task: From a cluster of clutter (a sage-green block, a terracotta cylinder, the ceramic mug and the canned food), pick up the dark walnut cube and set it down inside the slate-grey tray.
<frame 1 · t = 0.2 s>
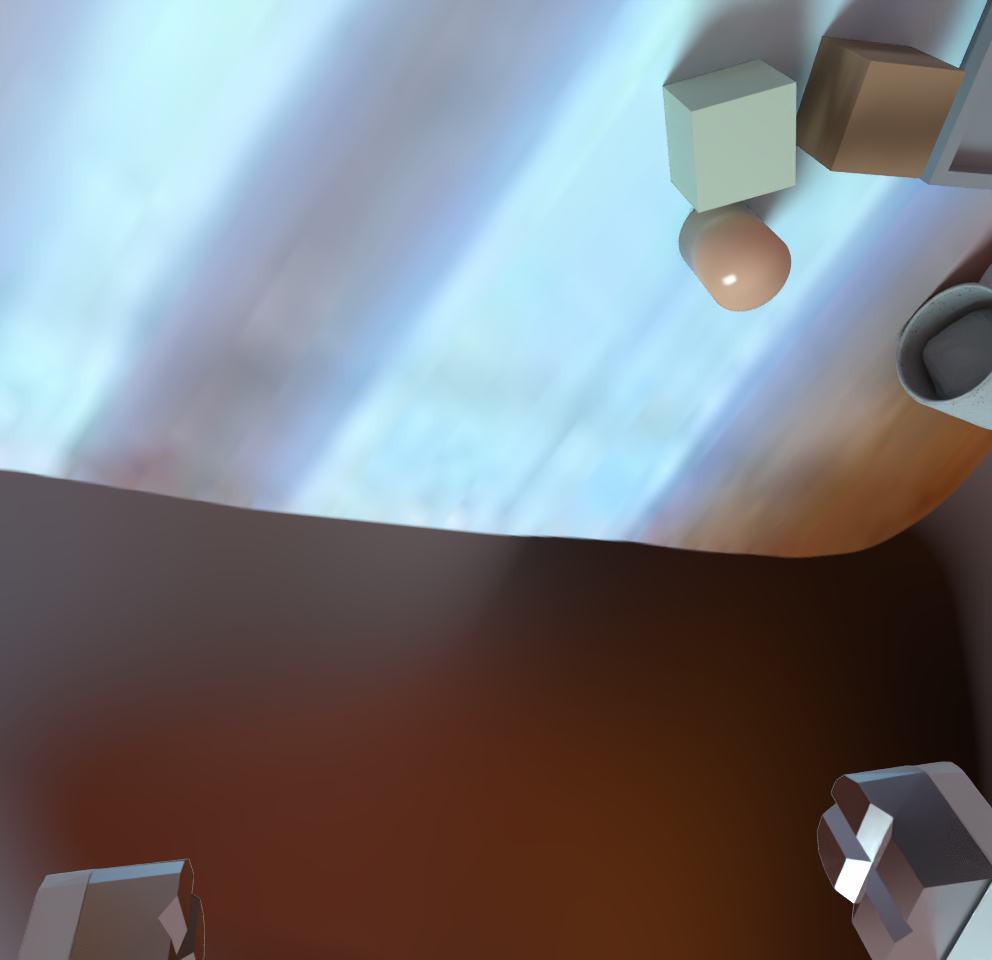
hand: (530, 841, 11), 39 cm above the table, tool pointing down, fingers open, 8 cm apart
ceramic mug: (965, 313, 55), on the table
terracotta cylinder: (716, 234, 49), on the table
green block: (712, 121, 45), on the table
walnut block: (847, 93, 45), on the table
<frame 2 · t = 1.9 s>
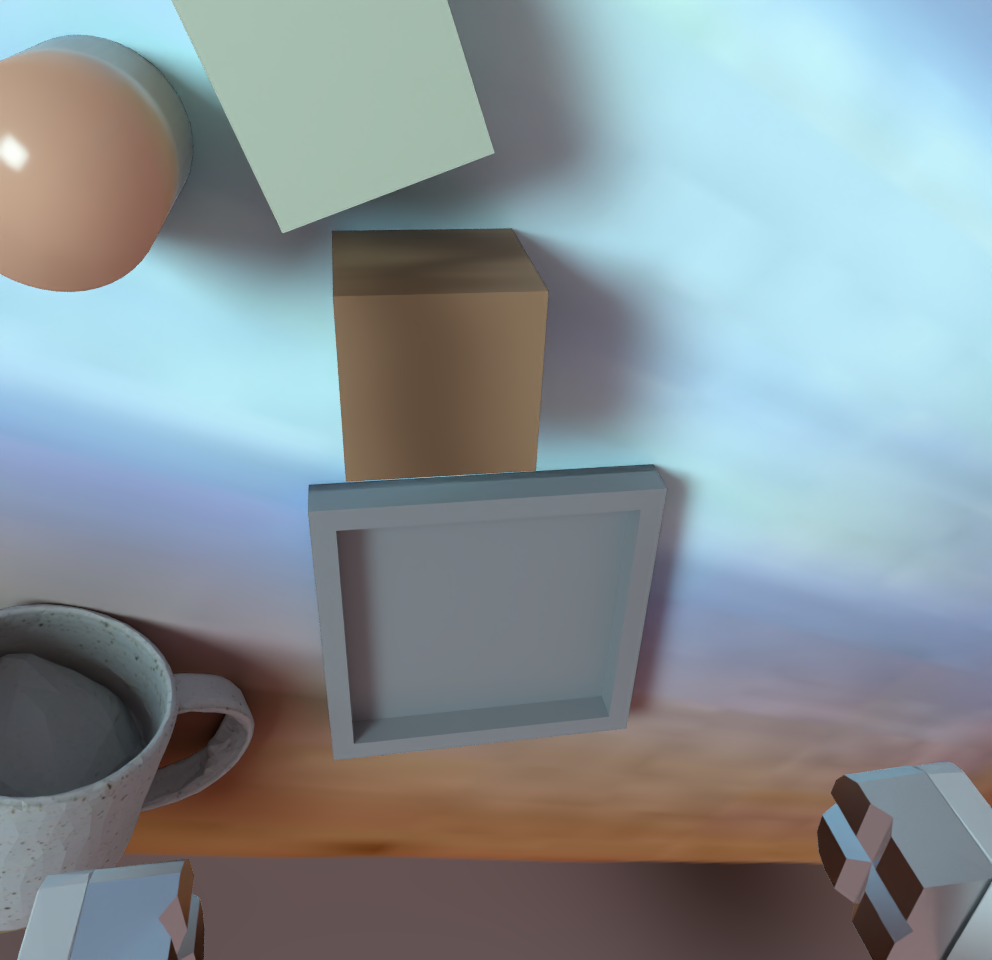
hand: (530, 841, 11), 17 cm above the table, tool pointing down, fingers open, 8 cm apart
tray: (481, 606, 32), on the table
ceramic mug: (101, 682, 31), on the table
terracotta cylinder: (99, 134, 21), on the table
green block: (339, 48, 21), on the table
walnut block: (424, 313, 25), on the table
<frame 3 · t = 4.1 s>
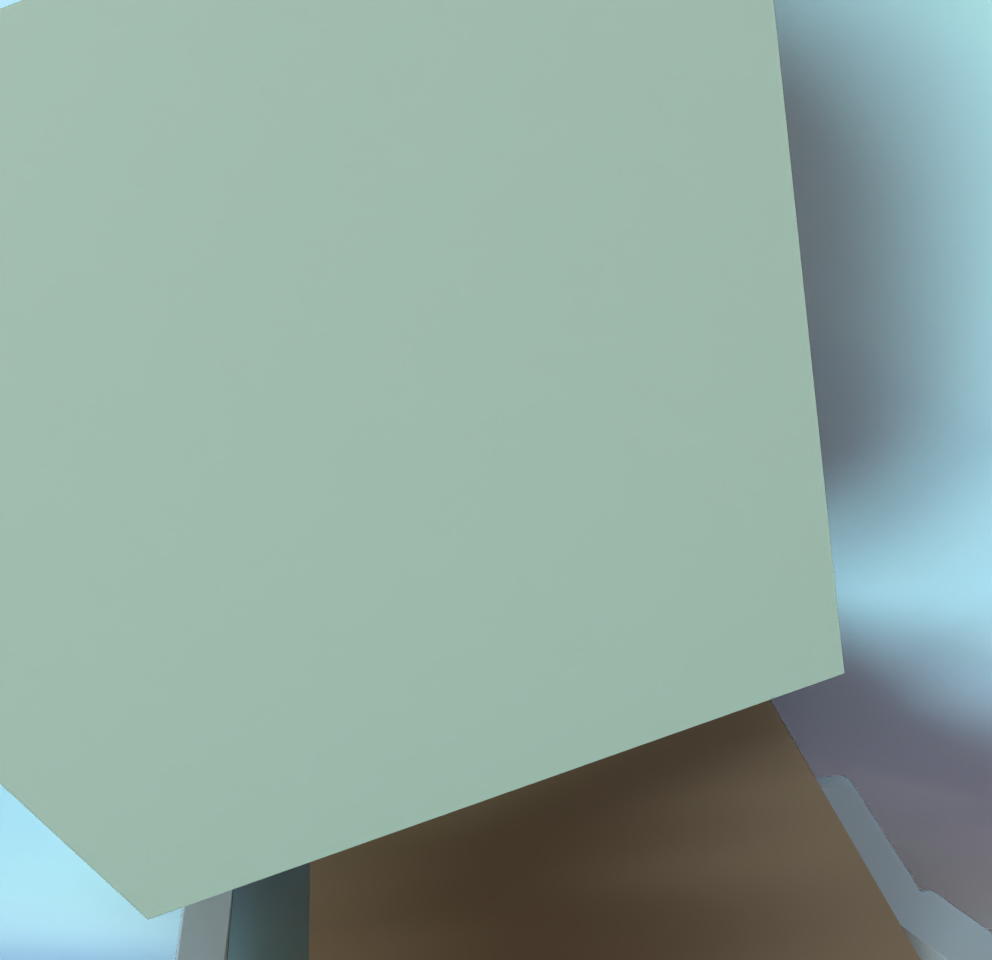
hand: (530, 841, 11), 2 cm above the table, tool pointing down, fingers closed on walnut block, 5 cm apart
green block: (332, 246, 8), on the table
walnut block: (507, 738, 12), on the table, touching gripper
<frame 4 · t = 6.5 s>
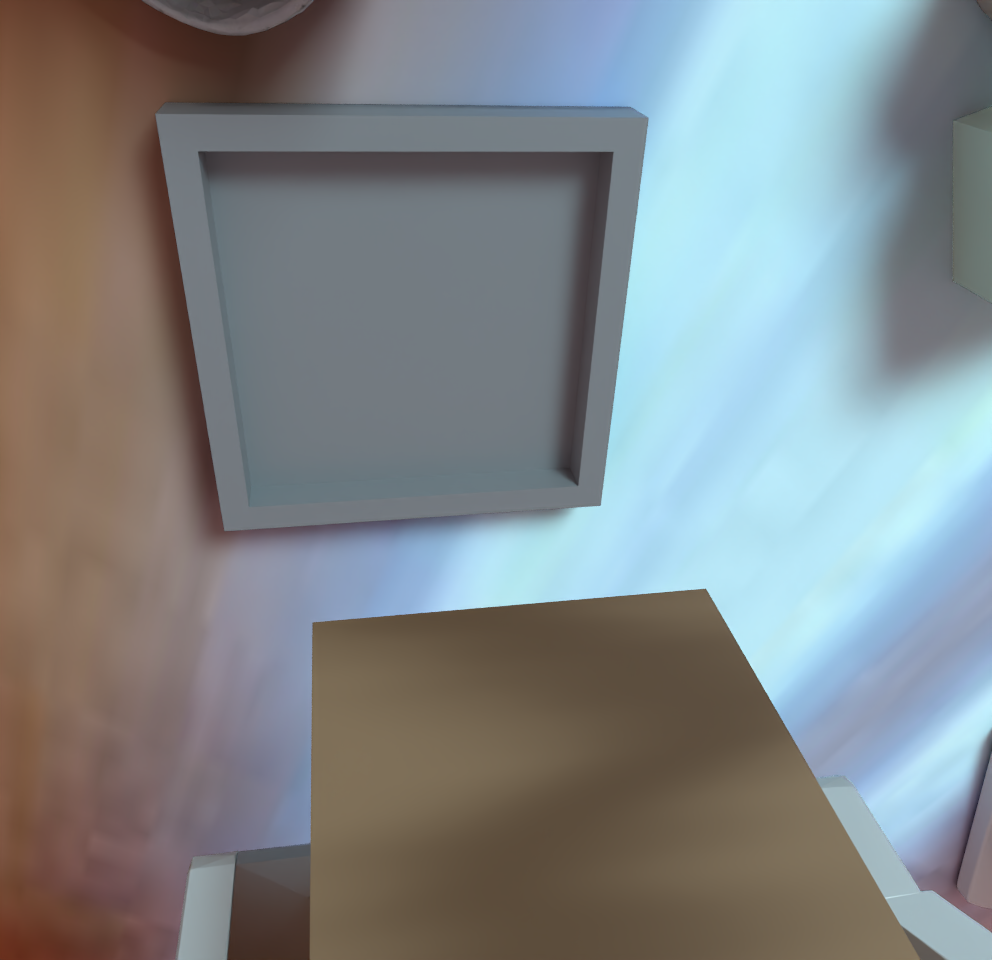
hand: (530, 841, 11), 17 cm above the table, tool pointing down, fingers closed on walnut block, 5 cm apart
tray: (411, 322, 25), on the table
walnut block: (507, 740, 12), point 15 cm above the table, touching gripper
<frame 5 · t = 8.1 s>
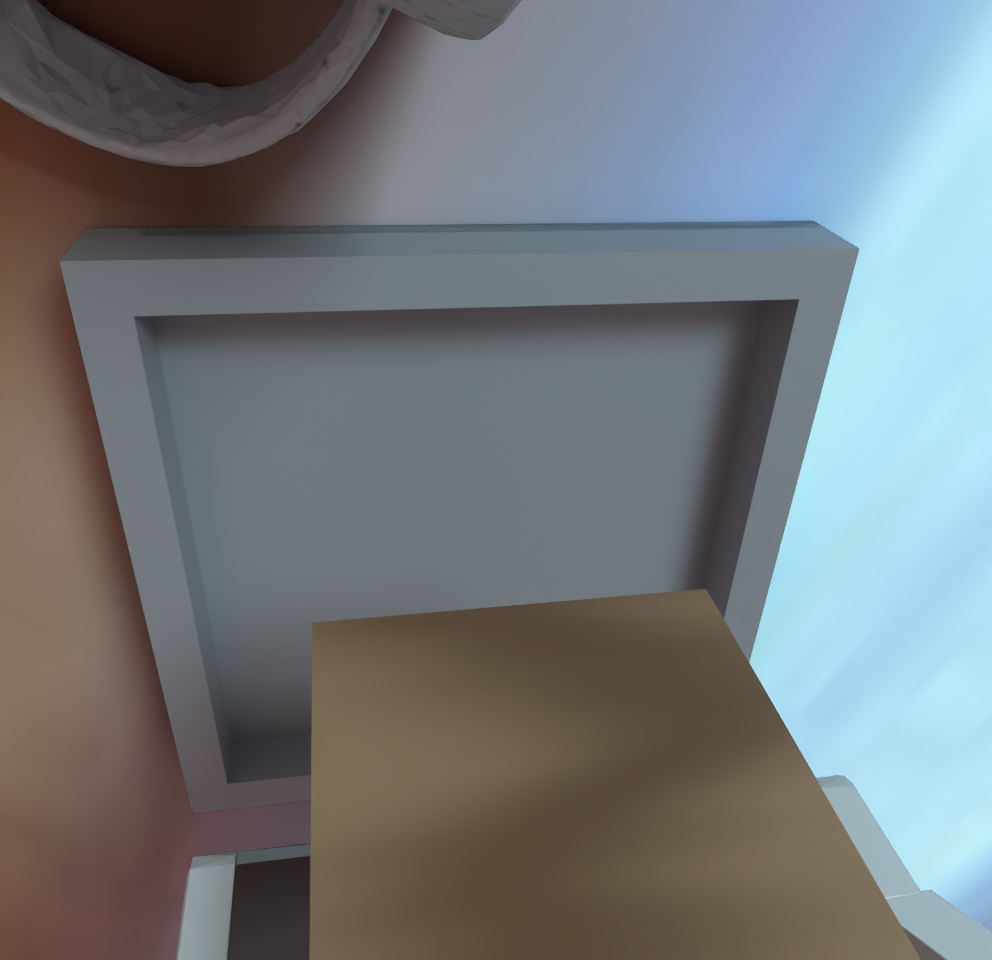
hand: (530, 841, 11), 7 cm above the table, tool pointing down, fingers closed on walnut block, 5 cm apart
tray: (467, 523, 17), on the table
walnut block: (507, 740, 12), point 5 cm above the table, touching gripper
when the fingers open (4 cm above the table, at t = 9.3 s): walnut block drops 2 cm, resting on tray.
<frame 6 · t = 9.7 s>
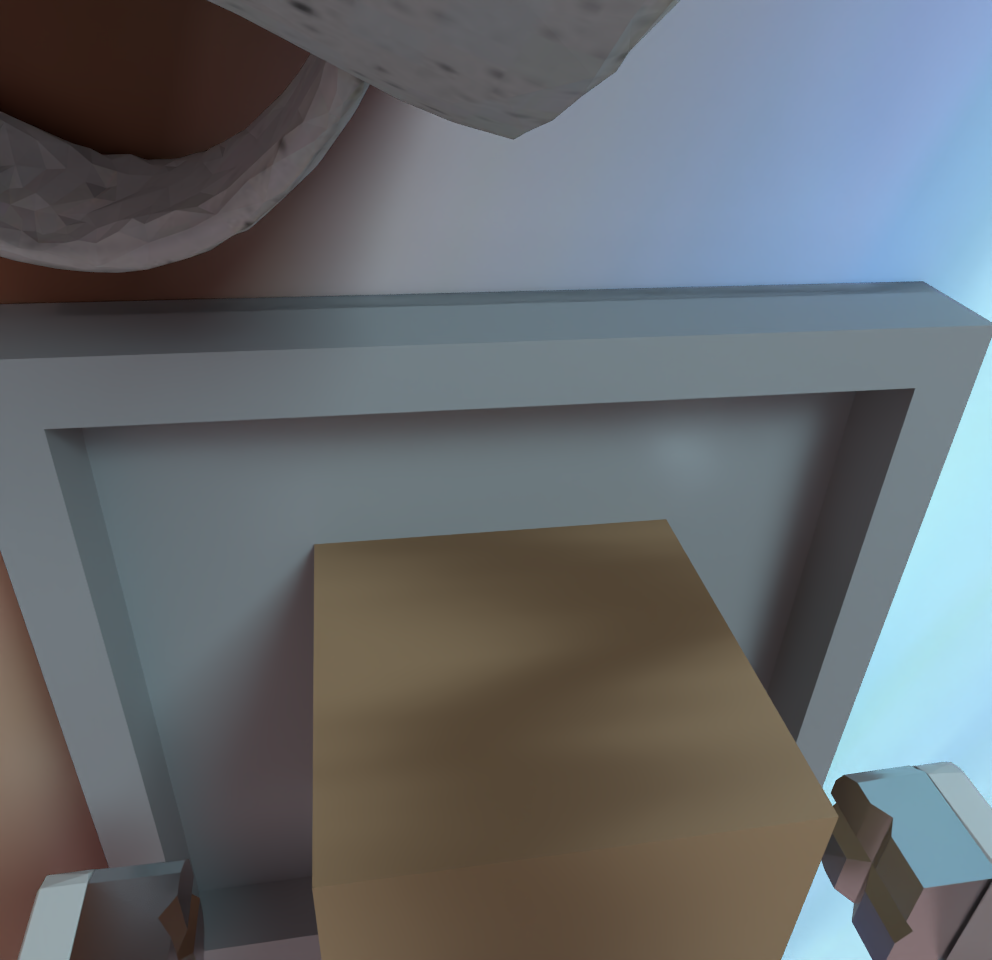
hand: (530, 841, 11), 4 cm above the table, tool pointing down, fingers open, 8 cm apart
tray: (482, 641, 14), on the table
walnut block: (489, 661, 13), resting on tray
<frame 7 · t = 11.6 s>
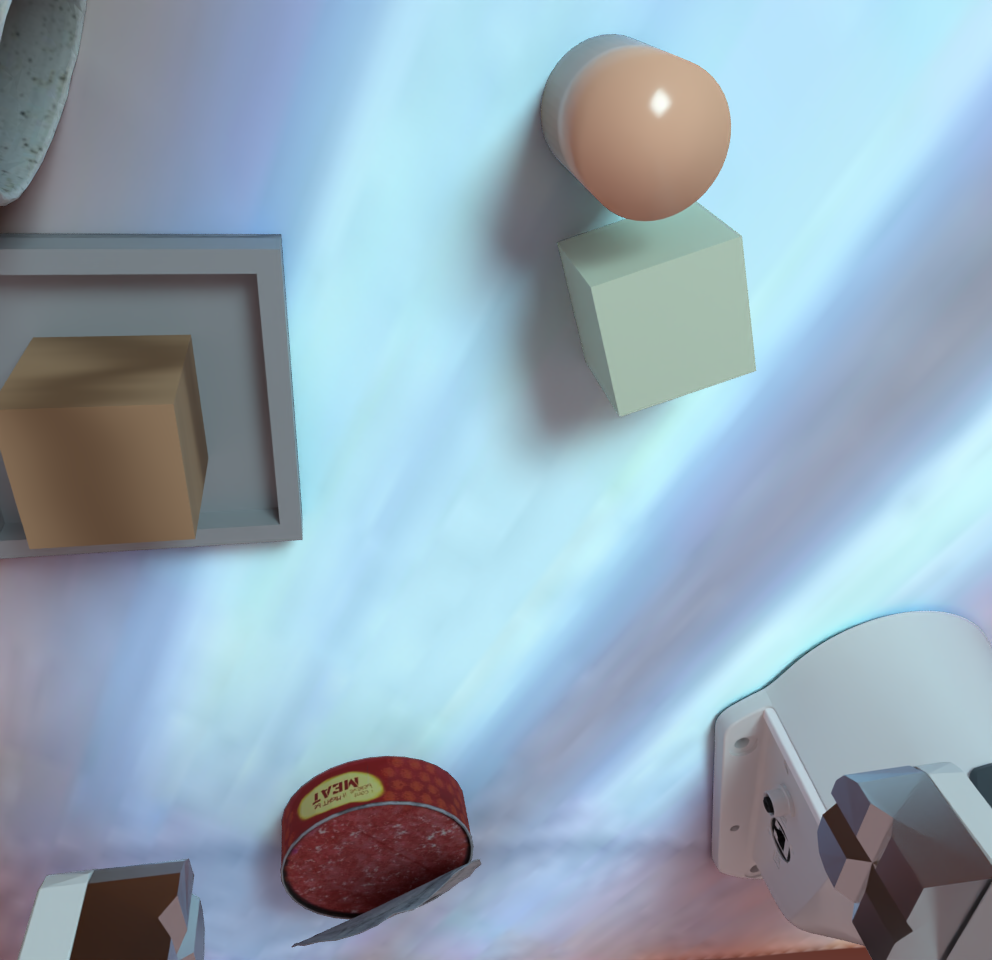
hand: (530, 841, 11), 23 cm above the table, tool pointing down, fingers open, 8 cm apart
tray: (125, 395, 31), on the table
terracotta cylinder: (605, 108, 28), on the table
green block: (634, 282, 32), on the table
walnut block: (126, 401, 30), resting on tray
canned food: (375, 811, 47), on the table
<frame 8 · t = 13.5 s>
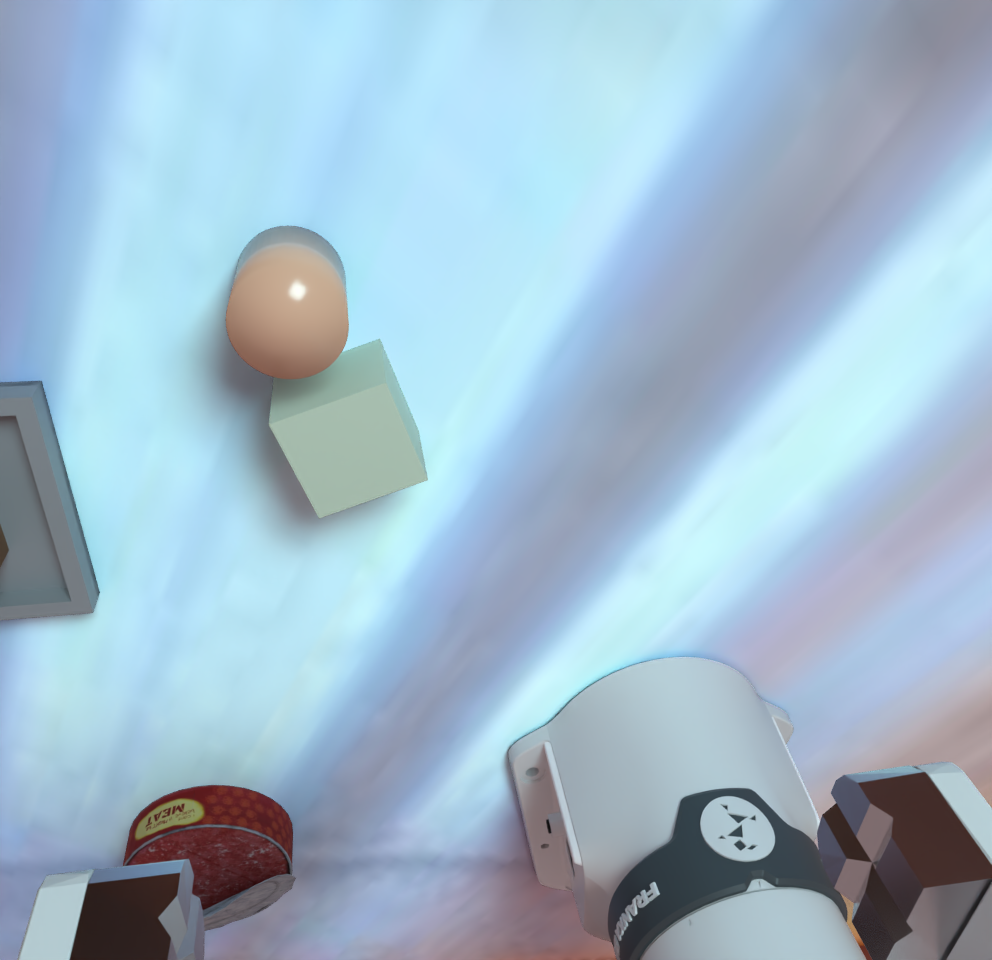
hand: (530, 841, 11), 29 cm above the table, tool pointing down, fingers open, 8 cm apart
terracotta cylinder: (291, 278, 36), on the table
green block: (348, 403, 39), on the table
canned food: (214, 831, 54), on the table
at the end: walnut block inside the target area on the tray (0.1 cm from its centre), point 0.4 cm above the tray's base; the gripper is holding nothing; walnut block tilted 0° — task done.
